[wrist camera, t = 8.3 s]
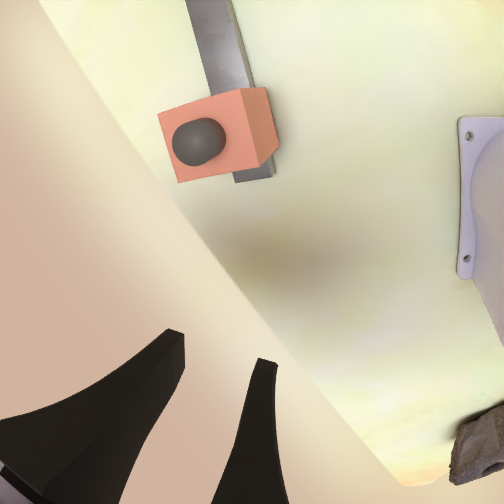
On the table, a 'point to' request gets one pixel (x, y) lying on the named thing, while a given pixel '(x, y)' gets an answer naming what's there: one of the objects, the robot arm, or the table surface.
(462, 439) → the perforated stone tool
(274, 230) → the table surface
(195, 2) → the rail
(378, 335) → the table surface
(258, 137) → the lever handle
